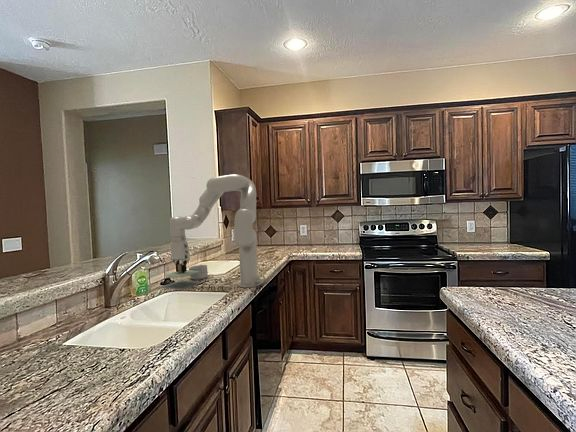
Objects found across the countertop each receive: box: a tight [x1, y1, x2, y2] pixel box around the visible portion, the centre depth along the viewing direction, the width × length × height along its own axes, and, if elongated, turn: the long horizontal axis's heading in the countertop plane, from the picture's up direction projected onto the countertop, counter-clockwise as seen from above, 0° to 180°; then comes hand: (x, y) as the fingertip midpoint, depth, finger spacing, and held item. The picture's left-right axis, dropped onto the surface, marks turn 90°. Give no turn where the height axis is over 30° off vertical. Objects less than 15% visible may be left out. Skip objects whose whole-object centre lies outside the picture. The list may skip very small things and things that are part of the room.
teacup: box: [188, 264, 209, 281], centre depth 201 cm, size 14×11×8 cm
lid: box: [163, 263, 199, 278], centre depth 185 cm, size 13×13×6 cm
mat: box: [157, 279, 204, 291], centre depth 186 cm, size 17×17×1 cm
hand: (181, 271), depth 185 cm, fingers closed on lid, 3 cm apart
